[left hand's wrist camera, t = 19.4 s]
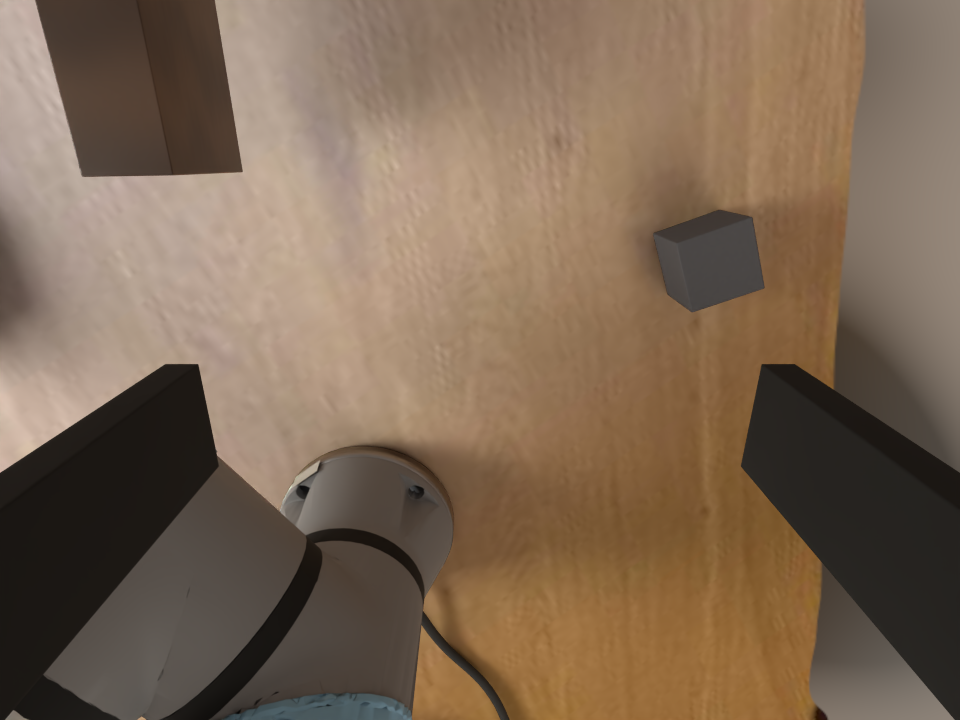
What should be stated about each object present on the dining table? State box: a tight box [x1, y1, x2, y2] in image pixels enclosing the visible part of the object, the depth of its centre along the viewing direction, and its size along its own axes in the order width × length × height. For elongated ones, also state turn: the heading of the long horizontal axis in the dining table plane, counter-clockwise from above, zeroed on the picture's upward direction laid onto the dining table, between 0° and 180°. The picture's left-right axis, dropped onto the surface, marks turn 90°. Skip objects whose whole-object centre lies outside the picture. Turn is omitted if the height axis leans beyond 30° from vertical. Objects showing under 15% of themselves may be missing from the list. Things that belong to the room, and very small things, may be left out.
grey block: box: [653, 210, 764, 312], centre depth 37 cm, size 5×5×5 cm
